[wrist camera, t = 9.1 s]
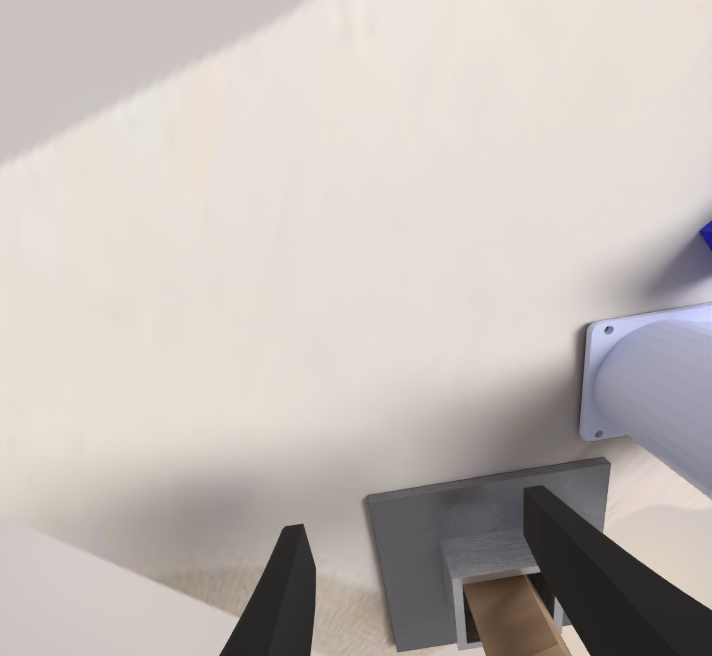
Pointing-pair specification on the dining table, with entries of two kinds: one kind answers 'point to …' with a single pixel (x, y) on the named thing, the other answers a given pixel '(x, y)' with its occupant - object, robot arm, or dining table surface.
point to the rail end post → (513, 618)
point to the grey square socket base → (469, 545)
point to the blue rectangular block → (707, 234)
